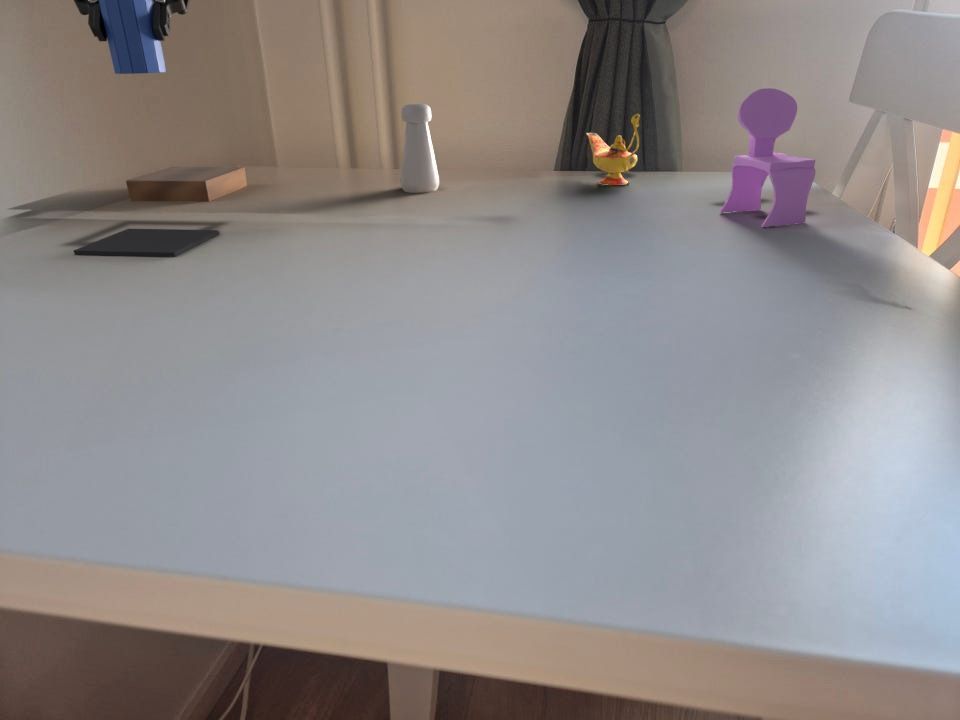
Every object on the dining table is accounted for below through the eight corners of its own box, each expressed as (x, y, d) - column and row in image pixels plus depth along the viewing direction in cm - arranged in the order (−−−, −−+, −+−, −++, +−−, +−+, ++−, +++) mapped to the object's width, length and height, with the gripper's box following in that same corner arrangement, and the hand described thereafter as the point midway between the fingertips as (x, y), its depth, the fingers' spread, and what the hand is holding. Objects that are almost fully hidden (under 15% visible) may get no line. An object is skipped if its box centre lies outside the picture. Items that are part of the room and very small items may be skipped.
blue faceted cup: (105, 73, 79) (87, -4, 76) (133, 72, 84) (118, -1, 81) (149, 73, 79) (133, -5, 75) (175, 71, 84) (161, -2, 80)
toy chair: (758, 229, 80) (779, 92, 73) (712, 214, 87) (727, 89, 81) (815, 223, 82) (840, 89, 76) (765, 208, 89) (784, 86, 83)
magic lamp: (604, 171, 118) (608, 104, 113) (655, 190, 102) (662, 112, 98) (567, 174, 116) (570, 106, 112) (614, 193, 101) (619, 114, 96)
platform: (132, 209, 97) (125, 180, 95) (177, 192, 108) (172, 166, 106) (210, 209, 95) (205, 181, 94) (248, 193, 106) (244, 167, 104)
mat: (74, 254, 75) (73, 250, 75) (128, 232, 84) (127, 228, 84) (174, 257, 73) (173, 252, 73) (219, 234, 82) (218, 230, 82)
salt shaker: (430, 202, 97) (425, 106, 92) (394, 200, 99) (387, 105, 93) (446, 194, 102) (442, 102, 97) (411, 192, 104) (406, 102, 98)
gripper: (55, -101, 79) (46, 8, 73) (185, -98, 82) (186, 8, 76) (82, -43, 86) (76, 61, 80) (201, -42, 89) (203, 59, 83)
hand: (129, 35), depth 78 cm, fingers closed on blue faceted cup, 5 cm apart
